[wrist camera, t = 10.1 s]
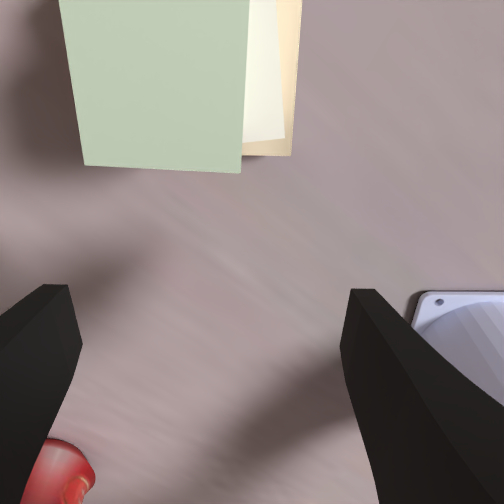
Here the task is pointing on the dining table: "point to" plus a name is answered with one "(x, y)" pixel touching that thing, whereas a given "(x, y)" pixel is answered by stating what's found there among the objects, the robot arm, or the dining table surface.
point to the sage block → (158, 81)
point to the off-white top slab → (263, 75)
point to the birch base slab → (283, 78)
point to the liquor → (59, 475)
